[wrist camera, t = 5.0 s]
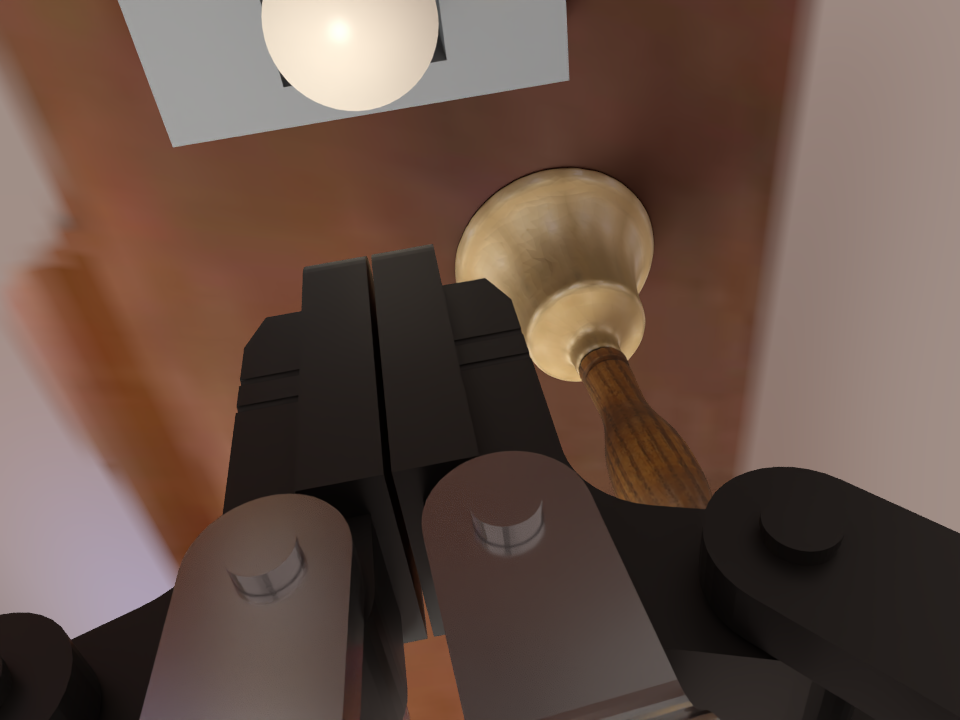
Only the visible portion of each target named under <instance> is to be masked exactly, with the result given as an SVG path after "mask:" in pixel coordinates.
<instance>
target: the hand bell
mask: <svg viewBox="0 0 960 720" xmlns="http://www.w3.org/2000/svg"><path fill="white" fill-rule="evenodd" d="M653 249H654V239H653V231H652V226H651V222H650V219H649V217H648V214H647V212H646V210H645V208H644V207H643V205H642V203H641V202H640V201H639V199H638V198H637V197H636V196H635V195H634V194H633V193H632V192H631V191H630V190H629V189H628V188H627V187H625V186H624V185H623V184H622V183H620V182H619V181H617V180H615V179H613V178H611V177H609V176H607V175H605V174H603V173H600V172H597V171H592V170H585V169H580V168H559V169H551V170H545V171H540V172H537V173H534V174H531V175H528V176H526V177H523V178H520V179H518V180H516V181H514V182H512V183H511V184H509V185H507V186H506V187H504V188H503V189H501V190H500V191H498V192H497V193H496V194H494V195H493V196H492V197H491V198H490V199H489V200H488V201H487V202H485V204H484V205H483V206H482V207H481V208H480V209H479V210H478V211H477V212H476V214H475V215H474V216H473V217H472V219H471V220H470V222H469V224H468V225H467V227H466V229H465V231H464V233H463V235H462V238H461V241H460V243H459V246H458V249H457V254H456V260H455V276H456V283H460V282H465V281H471V280H476V279H482V278H486V279H487V280H488V281H490V282H491V283H492V284H493V285H495V286H496V287H497V288H498V289H499V290H501V291H502V292H503V293H504V294H506V295H507V296H508V297H509V298H511V300H512V302H513V305H514V308H515V311H516V314H517V317H518V320H519V323H520V326H521V331H522V334H523V335H524V338H525V341H526V344H527V347H528V350H529V354H530V357H531V359H532V360H533V362H534V363H535V364H536V365H537V366H538V367H539V368H540V369H541V370H542V371H544V372H545V373H546V374H548V375H550V376H552V377H555V378H558V379H561V380H566V381H582V382H583V383H584V385H585V386H586V388H587V391H588V393H589V395H590V397H591V399H592V401H593V403H594V404H595V406H596V408H597V410H598V412H599V414H600V416H601V419H602V422H603V425H604V433H605V458H606V465H607V469H608V473H609V478H610V481H611V484H612V488H613V491H614V493H615V496H616V498H619V499H622V500H626V501H630V502H634V503H639V504H647V505H655V506H669V507H683V508H697V509H706V507H707V504H708V502H709V501H710V499H711V498H712V494H711V491H710V488H709V485H708V482H707V480H706V478H705V475H704V473H703V471H702V469H701V467H700V466H699V464H698V462H697V460H696V458H695V456H694V455H693V453H692V452H691V450H690V448H689V447H688V445H687V444H686V442H685V441H684V440H683V439H682V438H681V436H680V435H679V434H678V433H677V431H676V430H675V429H674V428H673V427H672V426H671V425H670V424H669V423H667V422H666V421H665V420H664V419H663V418H662V417H661V416H659V415H658V414H657V413H656V412H655V411H654V410H653V409H652V408H651V407H650V406H649V405H648V403H647V402H646V400H645V398H644V397H643V395H642V393H641V390H640V388H639V386H638V384H637V381H636V379H635V377H634V374H633V372H632V370H631V368H630V366H629V363H628V360H629V358H630V357H631V356H632V355H633V353H634V352H635V351H636V349H637V347H638V346H639V344H640V342H641V340H642V336H643V333H644V328H645V315H644V310H643V306H642V303H641V301H640V298H639V295H638V294H639V292H640V291H641V289H642V287H643V285H644V283H645V281H646V278H647V276H648V273H649V270H650V267H651V262H652V258H653Z"/></svg>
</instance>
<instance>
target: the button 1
mask: <svg viewBox="0 0 960 720" xmlns="http://www.w3.org/2000/svg"><path fill="white" fill-rule="evenodd" d="M261 18H262V29H263V34H264V39H265V42H266V45H267V48H268V51H269V53H270V55H271V57H272V60H273V62H274V63H275V65H276V66H277V68H278V70H279V71H280V73H281V74H282V75H283V76H284V77H285V79H286V80H287V81H288V82H289V83H290V84H291V85H292V86H293V87H294V88H295V89H296V90H298V91H299V92H300V93H302V94H303V95H304V96H306V97H308V98H309V99H311V100H313V101H315V102H317V103H319V104H322V105H324V106H327V107H330V108H334V109H338V110H345V111H364V110H371V109H375V108H379V107H382V106H385V105H387V104H390V103H392V102H393V101H395V100H397V99H399V98H400V97H402V96H403V95H405V94H406V93H407V92H408V91H410V90H411V89H412V88H413V87H414V86H415V85H416V84H417V82H418V81H419V80H420V79H421V78H422V76H423V75H424V73H425V71H426V70H427V68H428V66H429V64H430V62H431V60H432V58H433V55H434V51H435V48H436V44H437V38H438V25H439V23H438V11H437V6H436V1H435V0H263V2H262V14H261Z"/></svg>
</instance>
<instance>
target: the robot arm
mask: <svg viewBox="0 0 960 720" xmlns="http://www.w3.org/2000/svg"><path fill="white" fill-rule="evenodd" d="M372 269H373V276H372V272H371V268H370V265H369V261H368V258H367V256H364V257H359V258H353V259H347V260H342V261H336V262H330V263H325V264H319V265H313V266H308V267H304V269H303V286H302V311H300V312H295V313H289V314H284V315H278V316H273V317H267V318H265V320H264V321H263V323H262V324H261V325H260V327H259V328H258V330H257V331H256V332H255V334H254V335H253V337H252V338H251V339H250V341H249V342H248V344H247V345H246V346H245V348H244V354H243V361H242V369H241V377H240V381H241V386H239V392H238V400H237V409H238V413H236V416H235V423H234V431H233V439H232V447H231V454H230V462H229V470H228V478H227V485H226V493H225V501H224V509H223V515H222V516H220V517H219V518H218V519H217V520H215V521H214V522H213V523H211V524H210V525H209V526H208V527H207V528H206V529H205V530H204V531H203V532H202V533H201V534H200V535H199V536H198V537H197V538H196V540H195V541H194V542H193V543H192V545H191V546H190V547H189V549H188V551H187V553H186V554H185V556H184V558H183V560H182V563H181V566H180V568H179V571H178V575H177V578H176V582H175V586H174V587H173V588H172V589H170V590H169V591H167V592H166V593H164V594H163V595H162V596H160V597H158V598H157V599H155V600H153V601H151V602H149V603H147V604H145V605H143V606H142V607H140V608H138V609H136V610H133V611H131V612H129V613H127V614H125V615H123V616H120V617H118V618H116V619H114V620H112V621H110V622H108V623H106V624H103V625H101V626H99V627H97V628H95V629H93V630H91V631H89V632H86V633H85V634H82V635H80V636H78V637H76V638H74V639H72V640H71V639H70V638H69V637H68V635H67V634H66V633H65V631H64V630H63V629H62V627H61V626H59V625H58V624H57V623H56V622H54V621H53V620H51V619H49V618H47V617H44V616H42V615H38V614H33V613H9V614H2V615H0V720H410V716H409V711H408V708H407V679H406V668H405V657H404V646H403V643H408V642H413V641H418V640H422V639H427V630H426V621H425V613H424V604H423V596H422V591H423V595H424V599H425V603H426V607H427V611H428V615H429V619H430V622H431V626H432V630H433V634H434V637H435V636H440V635H446V639H447V644H448V648H449V653H450V657H451V661H452V666H453V670H454V675H455V679H456V683H457V688H458V692H459V697H460V701H461V705H462V710H463V714H464V719H465V720H960V533H958V532H956V531H953V530H951V529H949V528H947V527H944V526H942V525H940V524H938V523H936V522H933V521H931V520H929V519H927V518H925V517H922V516H920V515H918V514H916V513H914V512H911V511H909V510H907V509H905V508H902V507H900V506H898V505H896V504H894V503H891V502H889V501H887V500H885V499H883V498H880V497H878V496H876V495H874V494H871V493H869V492H867V491H865V490H863V489H860V488H858V487H856V486H854V485H852V484H849V483H847V482H845V481H843V480H841V479H838V478H835V477H833V476H830V475H828V474H825V473H821V472H817V471H813V470H809V469H802V468H795V467H772V468H762V469H758V470H754V471H750V472H747V473H744V474H742V475H739V476H737V477H735V478H733V479H731V480H730V481H728V482H727V483H725V484H724V485H723V486H722V487H721V488H719V489H718V490H717V491H716V492H715V493H714V495H713V496H712V498H711V499H710V501H709V502H708V504H707V507H706V509H697V508H683V507H669V506H655V505H647V504H639V503H634V502H630V501H626V500H622V499H619V498H616V497H614V496H611V495H608V494H606V493H604V492H602V491H601V490H599V489H597V488H595V487H593V486H592V485H591V484H589V483H588V482H586V481H585V480H584V479H582V478H581V477H580V476H579V475H578V474H577V473H576V472H575V471H574V469H573V468H572V467H571V465H570V464H569V462H568V461H567V459H566V457H565V455H564V453H563V450H562V447H561V444H560V441H559V439H558V436H557V433H556V430H555V427H554V424H553V421H552V418H551V415H550V412H549V409H548V406H547V403H546V400H545V397H544V394H543V391H542V388H541V385H540V382H539V379H538V376H537V373H536V371H535V368H534V365H533V362H532V359H531V358H530V354H529V350H528V347H527V344H526V341H525V338H524V335H523V334H522V331H521V326H520V323H519V320H518V317H517V314H516V311H515V308H514V305H513V302H512V300H511V298H509V297H508V296H507V295H506V294H504V293H503V292H502V291H501V290H499V289H498V288H497V287H496V286H495V285H493V284H492V283H491V282H490V281H488V280H487V279H486V278H482V279H476V280H471V281H465V282H460V283H454V284H449V285H443V286H442V283H441V279H440V274H439V270H438V265H437V260H436V256H435V251H434V247H433V244H431V245H425V246H419V247H414V248H408V249H402V250H397V251H391V252H385V253H380V254H374V255H372ZM373 279H374V281H373Z"/></svg>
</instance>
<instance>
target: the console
mask: <svg viewBox="0 0 960 720" xmlns="http://www.w3.org/2000/svg"><path fill="white" fill-rule="evenodd" d="M435 1H436V6H437V11H438V23H439V25H438V38H437V44H436V48H435V51H434V55H433V58H432V60H431V62H430V64H429V66H428V68H427V70H426V71H425V73H424V75H423V76H422V78H421V79H420V80H419V81H418V82H417V84H416V85H415V86H414V87H413V88H412V89H411V90H410V91H408V92H407V93H406V94H405V95H403V96H402V97H400V98H399V99H397V100H395V101H393V102H392V103H390V104H387V105H385V106H382V107H379V108H375V109H371V110H364V111H345V110H338V109H334V108H330V107H327V106H324V105H322V104H319V103H317V102H315V101H313V100H311V99H309V98H308V97H306V96H304V95H303V94H302V93H300V92H299V91H298V90H296V89H295V88H294V87H293V86H292V85H291V84H290V83H289V82H288V81H287V80H286V79H285V77H284V76H283V75H282V74H281V73H280V71H279V70H278V68H277V66H276V65H275V63H274V62H273V60H272V57H271V55H270V53H269V51H268V48H267V45H266V42H265V39H264V34H263V29H262V18H261V14H262V2H263V0H118V2H119V4H120V7H121V10H122V12H123V15H124V18H125V20H126V23H127V26H128V28H129V31H130V34H131V36H132V39H133V42H134V44H135V47H136V50H137V52H138V55H139V58H140V60H141V63H142V66H143V68H144V71H145V74H146V76H147V79H148V82H149V84H150V87H151V90H152V92H153V95H154V98H155V100H156V103H157V106H158V109H159V111H160V114H161V117H162V119H163V122H164V125H165V127H166V130H167V133H168V135H169V138H170V141H171V143H172V146H173V147H177V146H183V145H189V144H195V143H201V142H207V141H213V140H219V139H225V138H231V137H237V136H242V135H248V134H254V133H260V132H266V131H272V130H278V129H284V128H290V127H296V126H302V125H307V124H313V123H319V122H325V121H331V120H337V119H343V118H349V117H355V116H361V115H367V114H372V113H378V112H384V111H390V110H396V109H402V108H408V107H414V106H420V105H426V104H431V103H437V102H443V101H449V100H455V99H461V98H467V97H473V96H479V95H485V94H491V93H496V92H502V91H508V90H514V89H520V88H526V87H532V86H538V85H544V84H550V83H556V82H561V81H567V80H569V65H568V40H567V16H566V0H435Z"/></svg>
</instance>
